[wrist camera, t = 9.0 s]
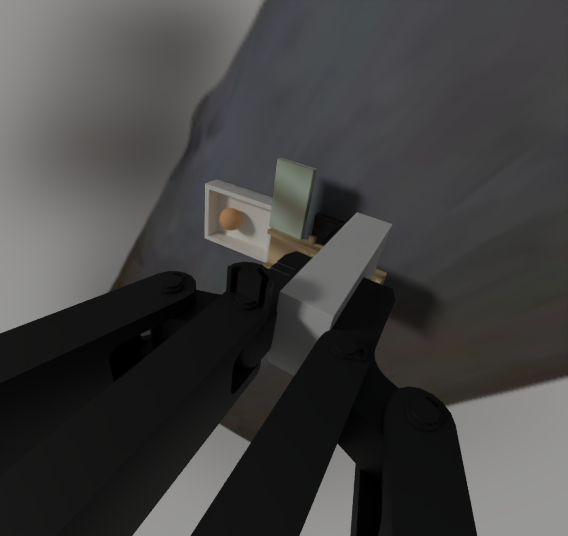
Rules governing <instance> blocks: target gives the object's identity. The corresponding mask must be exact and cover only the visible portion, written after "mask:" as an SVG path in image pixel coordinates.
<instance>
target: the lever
mask: <svg viewBox="0 0 568 536" xmlns="http://www.w3.org/2000/svg"><path fill="white" fill-rule="evenodd" d="M316 171H317V169H315V168H312V167H309V166H306V165H303V164H300V163H296V162H293V161H290V160H287V159H284V158H278V160H277V168H276V175H275V183H274V191H273V199H272V206H271V214H270V222H269V226H270V227H272V228H270V229H268V231H267V234H269V235H271V238H270V246H269V253H268V260H267V262H265V263H264V264H263V266H264V267H266V268H268V269H269V268H271V266H272V265H274V264H275V263H277V261H278V260H279V259H280V258H282V257H283V256H284V255H285V254H288V253H291V252H295V251H298V252H301V253H303V254H306V255H308V256H311V257H314V256H315V255H316V254H317V253H318V252H319V251H320V250H321V249H322V248H323V247H324V246H322V245H320V244H317V243H316V240H317V237H316V236H313V235H311V236H309V240H308V239H306V238H303V237H304V232H305V227H306V222H307V217H308V212H309V207H310V202H311V197H312V192H313V186H314V181H315V176H316ZM386 275H387V273H386V272H383V271H381V270H379V269H376V270H375V272H374V275H373V278H372V281H375V282H377V283H379V284H382V285H383V283H384V281H385V278H386Z"/></svg>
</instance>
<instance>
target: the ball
mask: <svg viewBox="0 0 568 536" xmlns="http://www.w3.org/2000/svg"><path fill="white" fill-rule="evenodd" d="M220 223H221V225H222V227H223V228H225V229H227V230H236V229H238V228H239V227H240V225H241V223H242V216H241V214H240V212H239V211H238V210H236V209H234V208H227V209H225V210H223V211H222V213H221V214H220Z"/></svg>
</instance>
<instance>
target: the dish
mask: <svg viewBox="0 0 568 536" xmlns="http://www.w3.org/2000/svg"><path fill="white" fill-rule="evenodd" d="M272 199H273V197H270V196H267V195H264V194H261V193H258V192H255V191H252V190H249V189H246V188H243V187H240V186H237V185H234V184H231V183H228V182H224V181H221V180H218V179H217V180H214V181H211V182H208V183H205V238H206V239H208V240H211V241H213V242H216V243H218V244H220V245H223V246H225V247H228V248H230V249H233V250H235V251H238V252H240V253H243V254H245V255H248V256H250V257H253V258H255V259H257V260H260V261H262V262H267V260H268V253H269V246H270V238H271V235H269V234H267V231H268V229H270V228H272V227H270V226H269V222H270V214H271V206H272ZM227 208H234V209H236V210H238V211H239V212H240V214H241V216H242V223H241V225H240V227H239V228H238V229H236V230H227V229H225V228H223V227H222V225H221V223H220V214H221V213H222V211H223V210H225V209H227Z"/></svg>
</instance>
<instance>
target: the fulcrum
mask: <svg viewBox="0 0 568 536" xmlns="http://www.w3.org/2000/svg"><path fill="white" fill-rule="evenodd" d="M343 223H344V222H342V221H339V220H336V219H333V218H330V217H327V216H324V215H321V214H318V213H317V214H316V216H315V221H314V225H313V230H312V235H313V236H316V237H317V240H316V243H317V244H320V245H322V246H325V245H326V244H327V243H328V242H329V241H330V239H331V238H332V237H333V236H334V235H335V234H336V233H337V232H338V231H339V230H340V229H341V228H342V227H343Z"/></svg>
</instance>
